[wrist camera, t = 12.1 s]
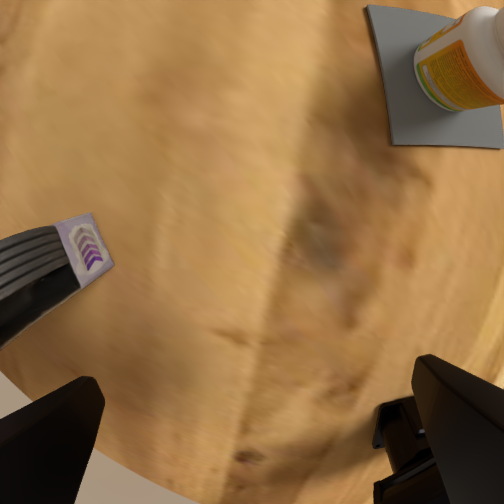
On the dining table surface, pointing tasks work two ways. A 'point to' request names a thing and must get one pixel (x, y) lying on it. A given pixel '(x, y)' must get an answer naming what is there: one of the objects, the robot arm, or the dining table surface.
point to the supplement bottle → (464, 62)
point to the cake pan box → (47, 270)
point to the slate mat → (411, 94)
